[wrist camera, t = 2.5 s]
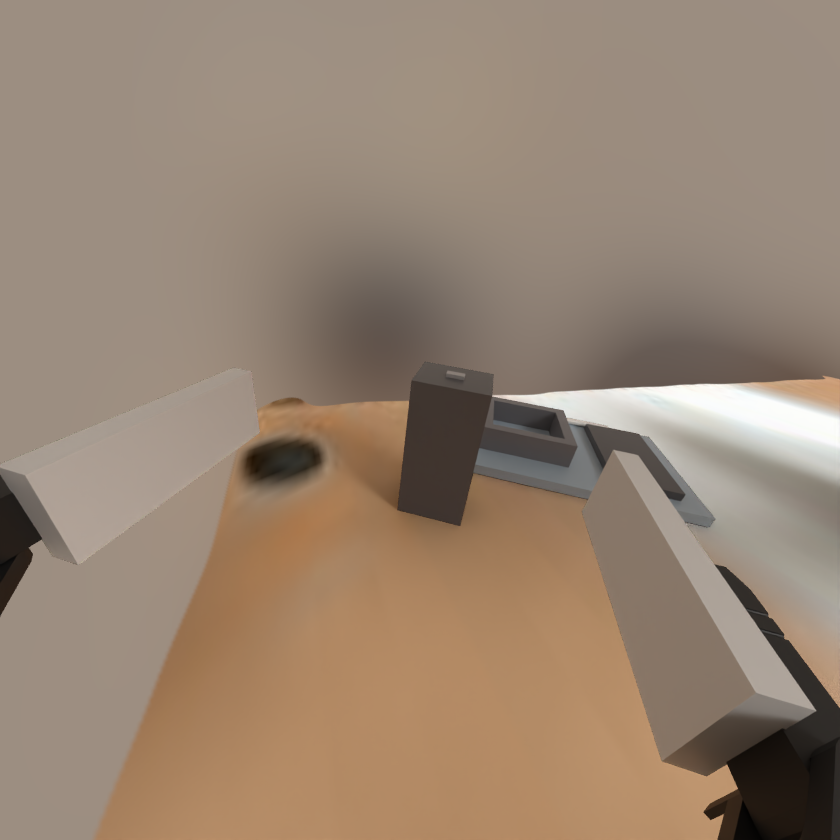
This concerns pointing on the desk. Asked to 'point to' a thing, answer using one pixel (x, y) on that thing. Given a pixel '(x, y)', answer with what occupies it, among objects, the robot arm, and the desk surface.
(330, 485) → the desk surface
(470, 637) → the desk surface
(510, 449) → the charging dock
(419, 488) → the brick
